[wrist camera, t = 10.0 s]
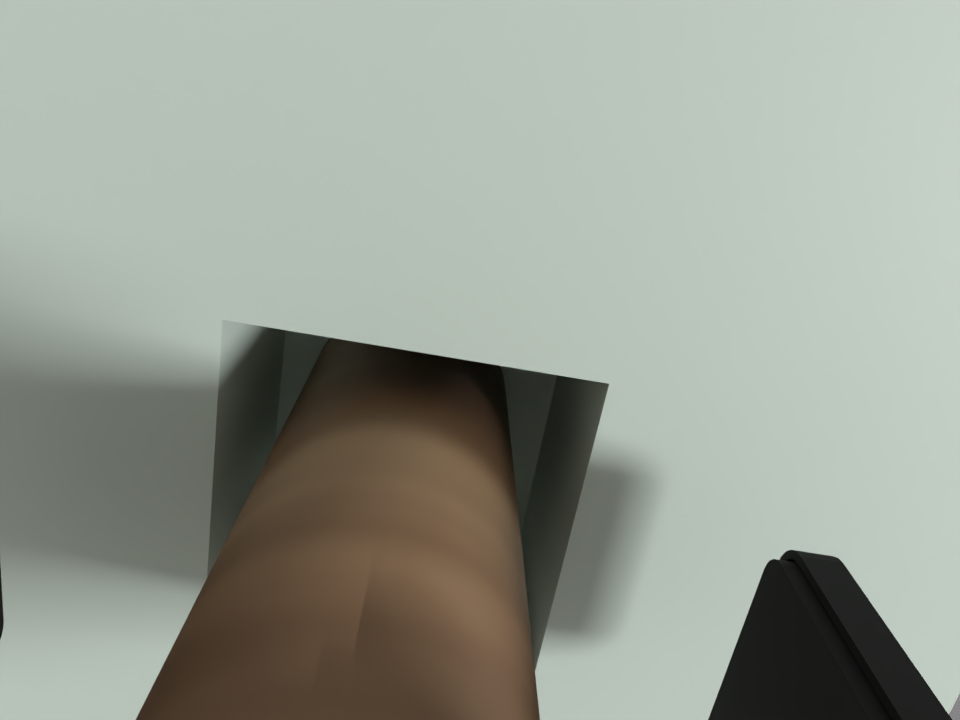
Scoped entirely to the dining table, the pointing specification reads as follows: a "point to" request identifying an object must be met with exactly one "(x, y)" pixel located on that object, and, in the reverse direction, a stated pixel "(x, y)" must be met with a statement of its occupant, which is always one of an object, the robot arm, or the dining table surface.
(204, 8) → the socket
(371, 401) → the peg
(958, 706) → the dining table surface
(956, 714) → the dining table surface
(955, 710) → the dining table surface
